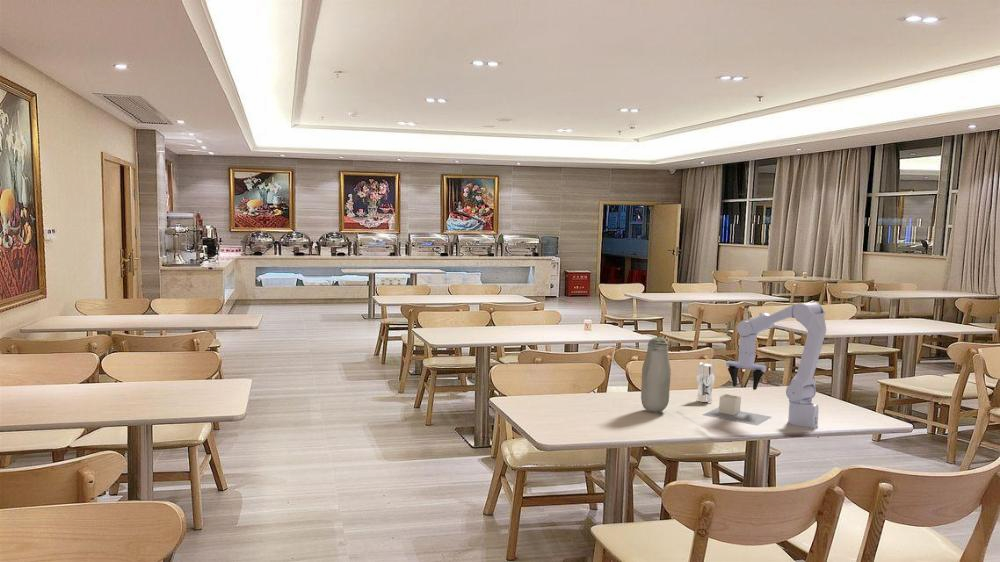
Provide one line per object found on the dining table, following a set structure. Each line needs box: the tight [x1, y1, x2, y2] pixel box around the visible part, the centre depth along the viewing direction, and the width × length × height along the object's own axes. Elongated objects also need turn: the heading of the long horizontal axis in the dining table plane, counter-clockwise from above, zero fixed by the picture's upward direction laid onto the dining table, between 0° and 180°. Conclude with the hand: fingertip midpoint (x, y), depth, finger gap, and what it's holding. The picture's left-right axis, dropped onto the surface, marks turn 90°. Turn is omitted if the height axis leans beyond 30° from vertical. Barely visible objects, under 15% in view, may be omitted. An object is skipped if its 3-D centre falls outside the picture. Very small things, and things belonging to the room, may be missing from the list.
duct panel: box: [702, 406, 772, 426], centre depth 266 cm, size 20×16×1 cm
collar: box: [718, 393, 742, 415], centre depth 270 cm, size 6×6×6 cm
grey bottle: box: [640, 336, 672, 413], centre depth 272 cm, size 10×10×28 cm
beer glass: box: [696, 362, 716, 403], centre depth 292 cm, size 7×7×15 cm
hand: (744, 387), depth 276 cm, fingers open, 7 cm apart
